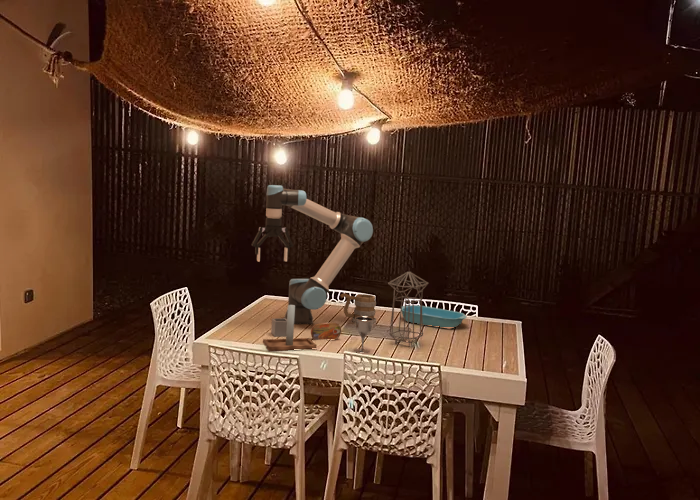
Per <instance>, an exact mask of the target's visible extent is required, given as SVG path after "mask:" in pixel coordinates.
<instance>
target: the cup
mask: <svg viewBox="0 0 700 500" xmlns="http://www.w3.org/2000/svg"><path fill="white" fill-rule="evenodd" d="M270 331H271V335H272V336H273V337H274V338H281V337H282V338H283V337H284V338H286V331H287V319H286V318H284V317H283V318H271V330H270Z"/></svg>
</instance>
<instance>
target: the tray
mask: <svg viewBox="0 0 700 500" xmlns="http://www.w3.org/2000/svg"><path fill="white" fill-rule="evenodd" d="M262 343H263V344H264V345H265V346H266V347H265V348H266V349H267V350H269V351H268V352H288V350H294V349H312V348H317V347H318V346H317V344H316V343H314V341H312V340H311V339H310V338H309V337H308V338H307V337H304V338H303V337H301V338H300V337H299V338H297V337H295V338H294V337H293V345H290V346H287V345H286V338H272V339H271V338H270V339H267V338H266V339H262ZM294 351H295V350H294Z"/></svg>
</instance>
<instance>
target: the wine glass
mask: <svg viewBox="0 0 700 500" xmlns="http://www.w3.org/2000/svg"><path fill="white" fill-rule="evenodd" d="M354 324H355V325H354V326H355V329H356V333H358V335H359V336H360V339H361V348H355V349H354V352H356V353H359V354H368V353H370V352H371V351H370V349H368V348H367V349H366V348H365V347H364V343H365V338H366V337H367V336H368V335H369V334H370V332H371V331H372V330H373V325H374V324H373V318H371V317H365V316H359V317H356V319H355V322H354Z"/></svg>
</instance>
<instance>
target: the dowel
mask: <svg viewBox="0 0 700 500" xmlns="http://www.w3.org/2000/svg"><path fill="white" fill-rule="evenodd" d="M287 309H288V313H287V331H286V337H285V339H286V345H287V346H290V345H293V339H294V332H295V331H294V330H295V324H294V316H295V305H288V304H287Z"/></svg>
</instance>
